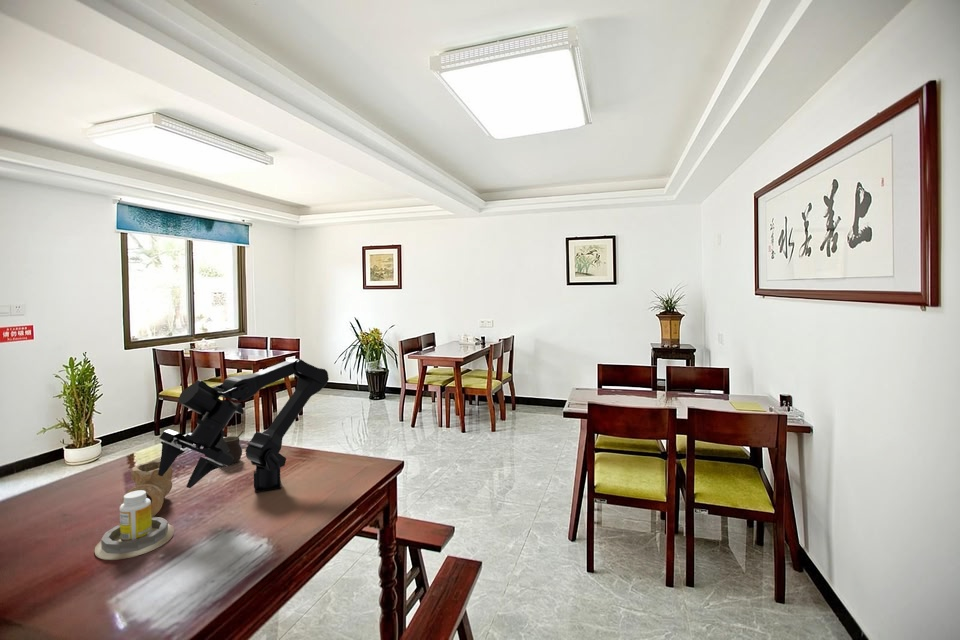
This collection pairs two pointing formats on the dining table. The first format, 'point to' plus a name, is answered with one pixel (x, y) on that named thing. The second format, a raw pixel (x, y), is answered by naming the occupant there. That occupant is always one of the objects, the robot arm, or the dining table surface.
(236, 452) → the mate gourd
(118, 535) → the holder ring
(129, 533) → the supplement bottle
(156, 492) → the pipe
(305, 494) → the dining table surface
